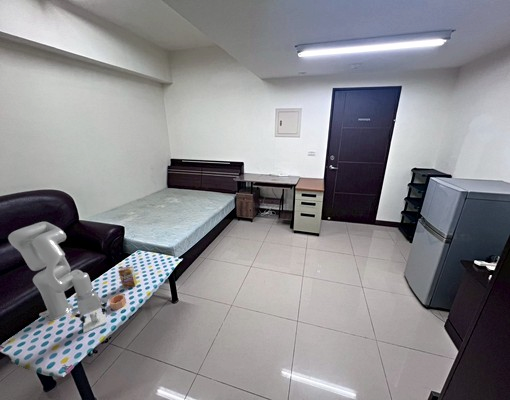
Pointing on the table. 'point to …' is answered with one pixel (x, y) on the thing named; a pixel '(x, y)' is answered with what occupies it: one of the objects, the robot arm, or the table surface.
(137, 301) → the table surface
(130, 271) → the candy box
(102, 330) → the table surface
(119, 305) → the bowl
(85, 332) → the mat
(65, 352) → the table surface
